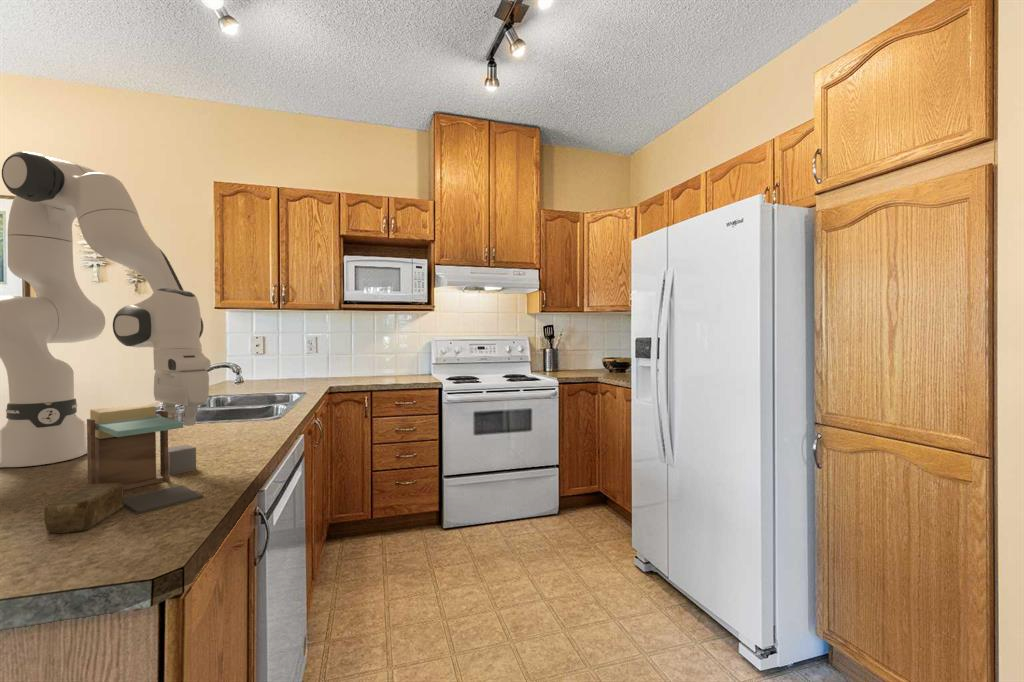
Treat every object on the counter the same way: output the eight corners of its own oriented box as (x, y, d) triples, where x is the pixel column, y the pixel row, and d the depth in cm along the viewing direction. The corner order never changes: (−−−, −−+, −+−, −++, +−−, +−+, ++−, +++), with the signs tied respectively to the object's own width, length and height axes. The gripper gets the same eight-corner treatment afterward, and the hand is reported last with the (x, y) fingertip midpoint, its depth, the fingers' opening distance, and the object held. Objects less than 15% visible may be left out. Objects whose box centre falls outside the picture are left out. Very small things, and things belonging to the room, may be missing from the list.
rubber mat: (118, 501, 86) (118, 499, 86) (181, 487, 94) (181, 485, 94) (137, 514, 80) (137, 511, 80) (203, 497, 88) (203, 495, 88)
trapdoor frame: (77, 490, 92) (76, 416, 92) (157, 474, 103) (156, 407, 102) (89, 498, 88) (87, 420, 87) (170, 480, 98) (169, 411, 98)
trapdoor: (85, 435, 93) (85, 410, 93) (149, 426, 101) (149, 403, 101) (116, 448, 82) (115, 420, 82) (184, 437, 91) (184, 412, 91)
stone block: (40, 537, 71) (39, 504, 71) (87, 510, 82) (87, 482, 82) (86, 533, 73) (85, 501, 73) (126, 507, 84) (126, 479, 84)
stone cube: (161, 471, 105) (161, 448, 105) (186, 466, 109) (186, 444, 109) (170, 475, 102) (169, 452, 102) (196, 469, 106) (195, 447, 106)
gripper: (144, 361, 109) (146, 421, 109) (180, 363, 97) (182, 430, 97) (176, 360, 114) (177, 417, 114) (214, 361, 102) (216, 425, 102)
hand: (180, 423), depth 105 cm, fingers open, 8 cm apart
